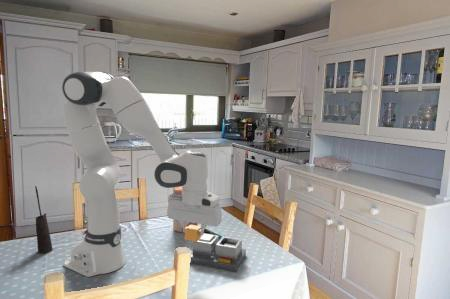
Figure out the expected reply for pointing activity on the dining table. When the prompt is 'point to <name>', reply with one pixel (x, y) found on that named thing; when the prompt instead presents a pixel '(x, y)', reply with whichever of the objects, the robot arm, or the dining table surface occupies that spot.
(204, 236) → the breaker
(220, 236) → the digital multimeter
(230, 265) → the twin switch block
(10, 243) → the dining table surface
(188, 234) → the orange cube
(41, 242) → the butter churn
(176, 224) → the cracker box
